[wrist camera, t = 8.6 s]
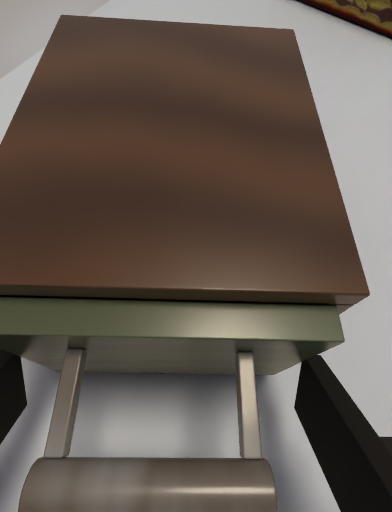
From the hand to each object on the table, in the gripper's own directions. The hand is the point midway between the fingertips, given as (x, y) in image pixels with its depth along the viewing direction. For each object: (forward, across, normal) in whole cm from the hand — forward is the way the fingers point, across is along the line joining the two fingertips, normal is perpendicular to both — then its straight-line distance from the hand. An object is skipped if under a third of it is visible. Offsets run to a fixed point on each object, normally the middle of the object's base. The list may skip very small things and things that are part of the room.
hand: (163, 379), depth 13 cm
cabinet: (+10, 0, +4) cm, 11 cm away
